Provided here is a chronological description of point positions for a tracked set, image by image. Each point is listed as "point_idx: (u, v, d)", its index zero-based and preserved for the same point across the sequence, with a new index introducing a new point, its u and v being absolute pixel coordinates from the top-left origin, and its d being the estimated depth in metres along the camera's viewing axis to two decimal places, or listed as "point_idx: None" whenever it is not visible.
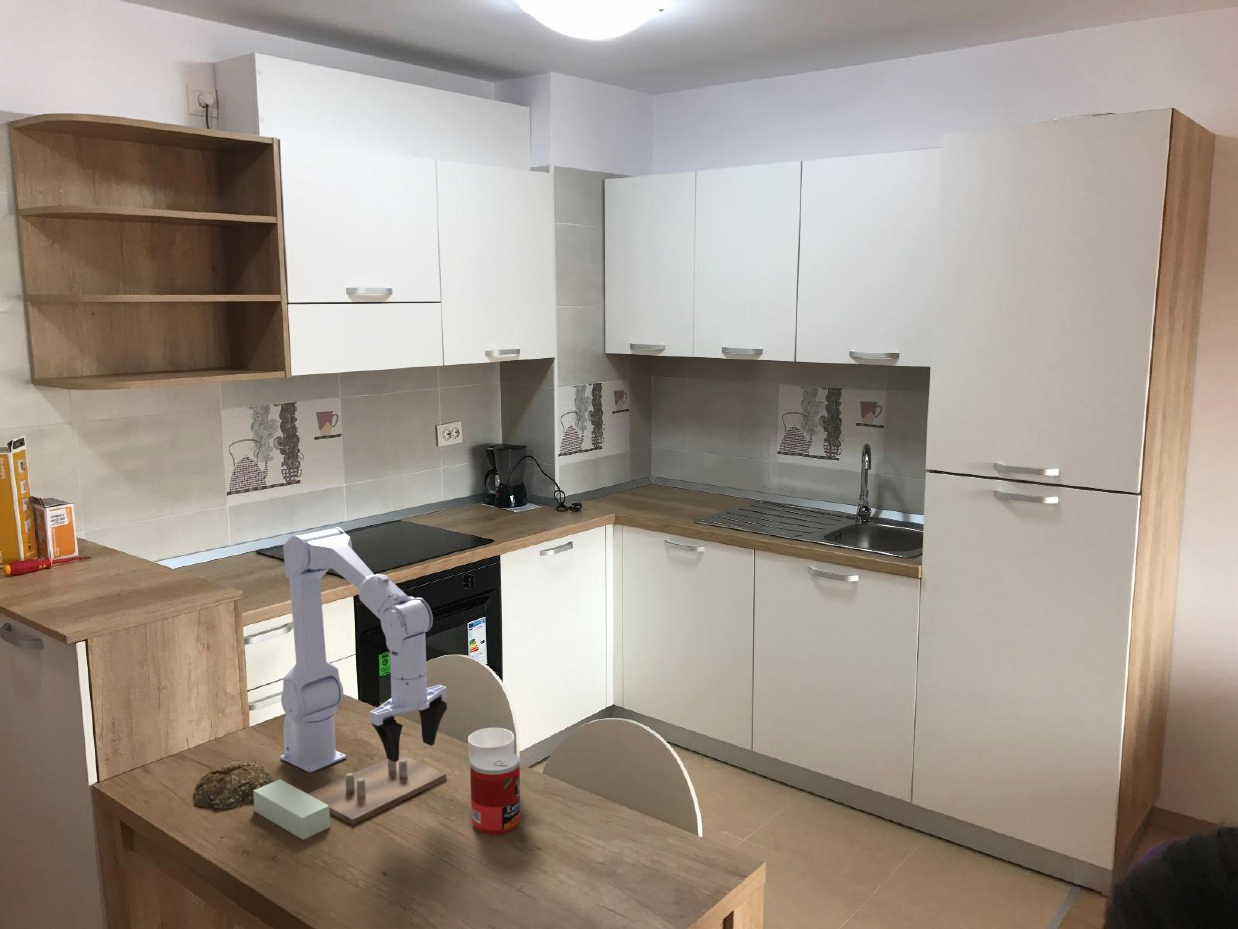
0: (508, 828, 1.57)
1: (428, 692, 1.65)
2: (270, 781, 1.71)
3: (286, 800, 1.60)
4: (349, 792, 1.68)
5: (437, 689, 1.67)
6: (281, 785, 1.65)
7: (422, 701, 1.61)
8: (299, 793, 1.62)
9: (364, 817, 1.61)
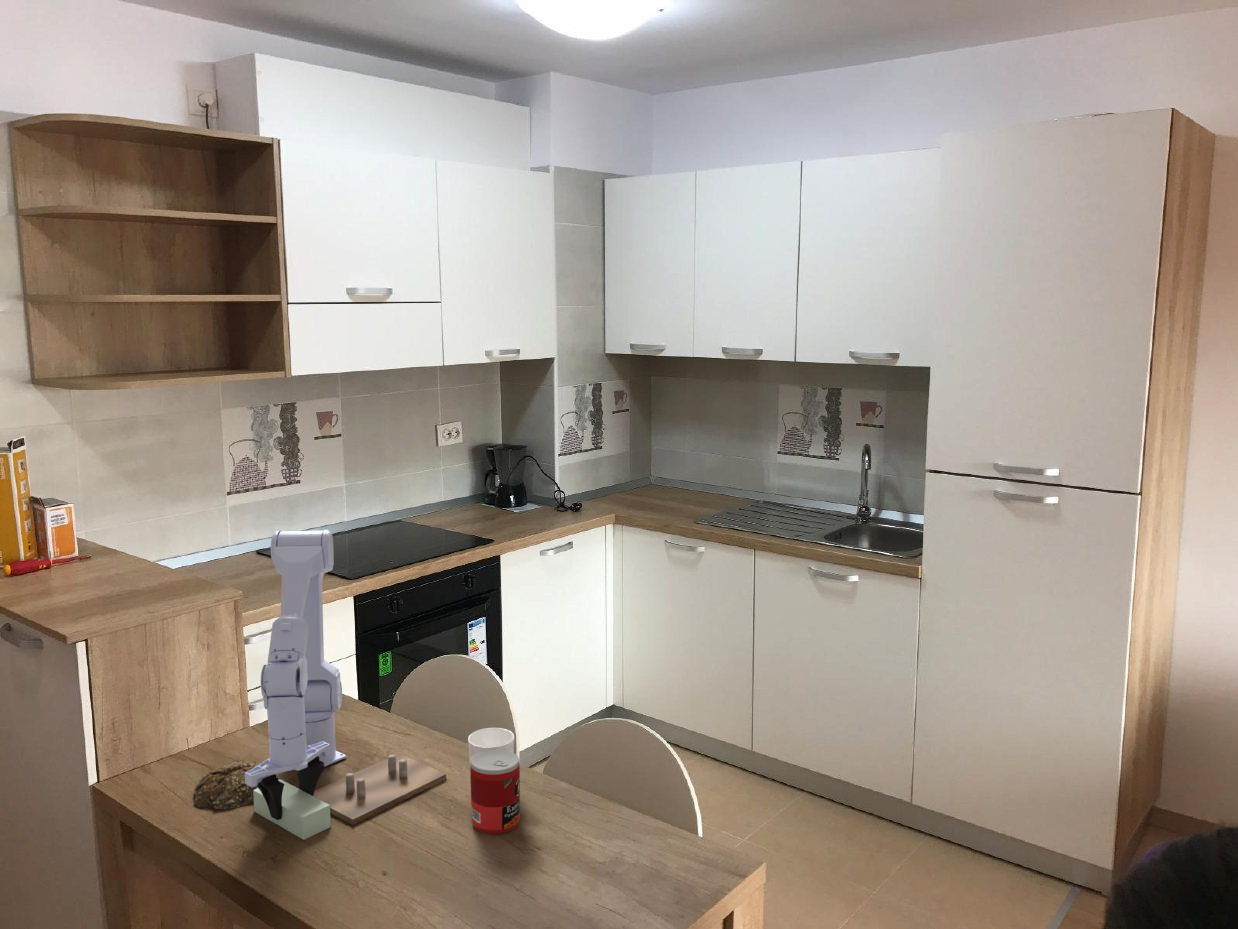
0: (508, 828, 1.57)
1: (310, 750, 1.63)
2: None
3: (286, 799, 1.60)
4: (349, 792, 1.68)
5: (320, 746, 1.64)
6: None
7: (300, 761, 1.58)
8: (299, 793, 1.62)
9: (364, 817, 1.61)
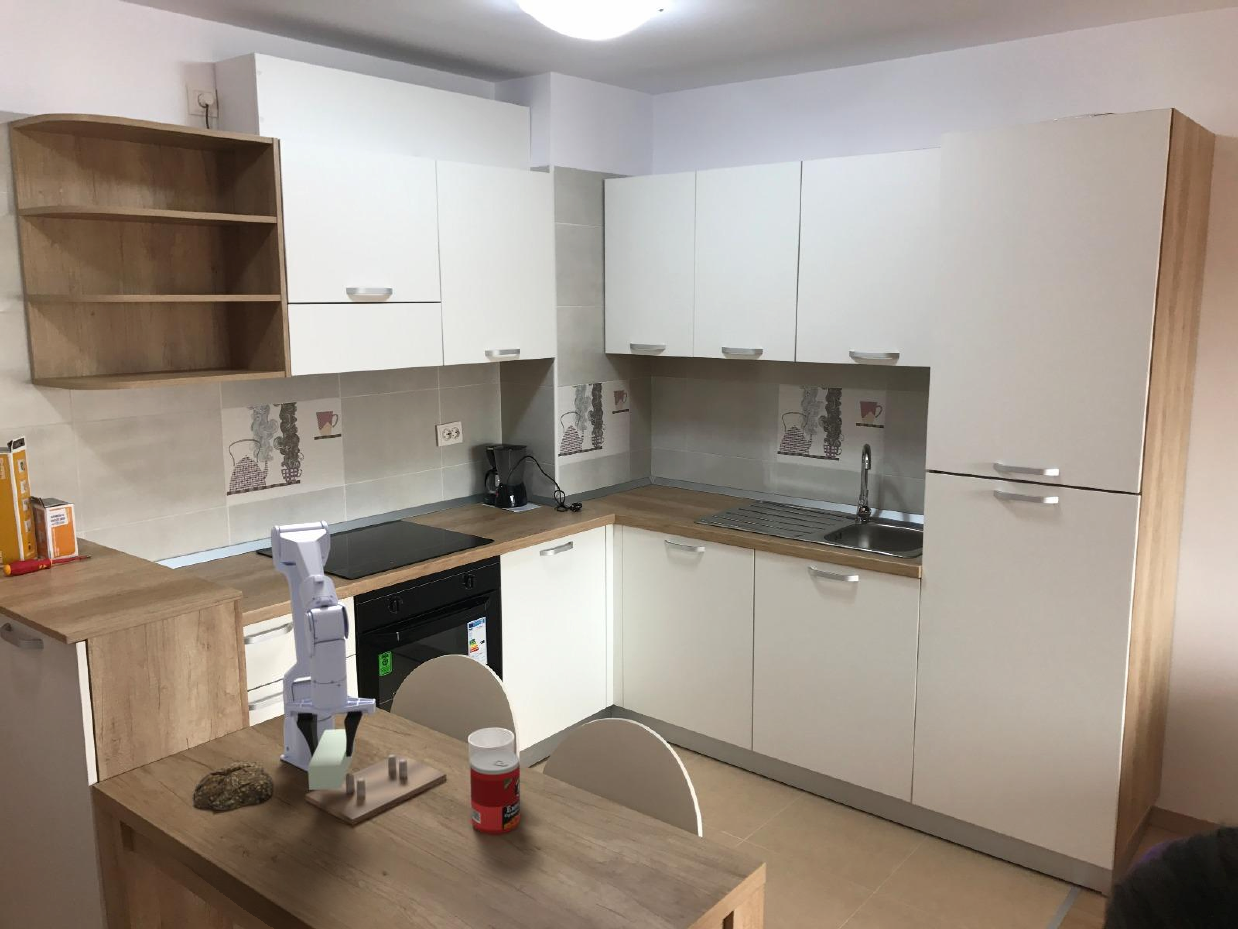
0: (508, 828, 1.57)
1: (354, 702, 1.64)
2: (270, 782, 1.70)
3: (327, 747, 1.65)
4: (349, 792, 1.68)
5: (366, 703, 1.64)
6: (345, 734, 1.70)
7: (328, 708, 1.61)
8: (343, 745, 1.65)
9: (364, 817, 1.61)
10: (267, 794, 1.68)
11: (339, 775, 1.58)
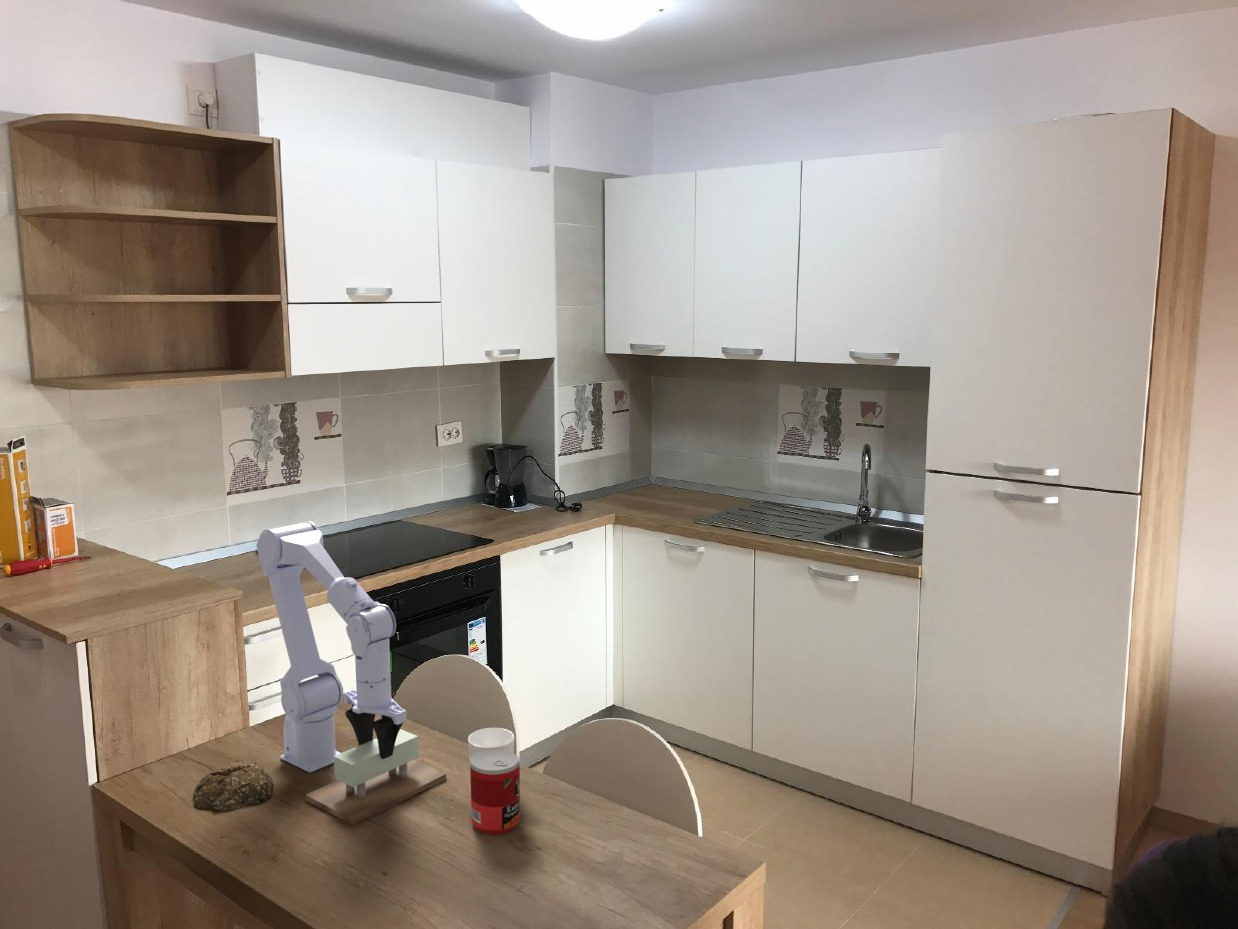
0: (508, 828, 1.57)
1: (388, 708, 1.66)
2: (270, 782, 1.70)
3: (373, 744, 1.71)
4: (349, 792, 1.68)
5: (395, 711, 1.65)
6: (404, 738, 1.73)
7: (361, 706, 1.66)
8: None
9: (364, 817, 1.61)
10: (267, 794, 1.68)
11: (351, 774, 1.64)
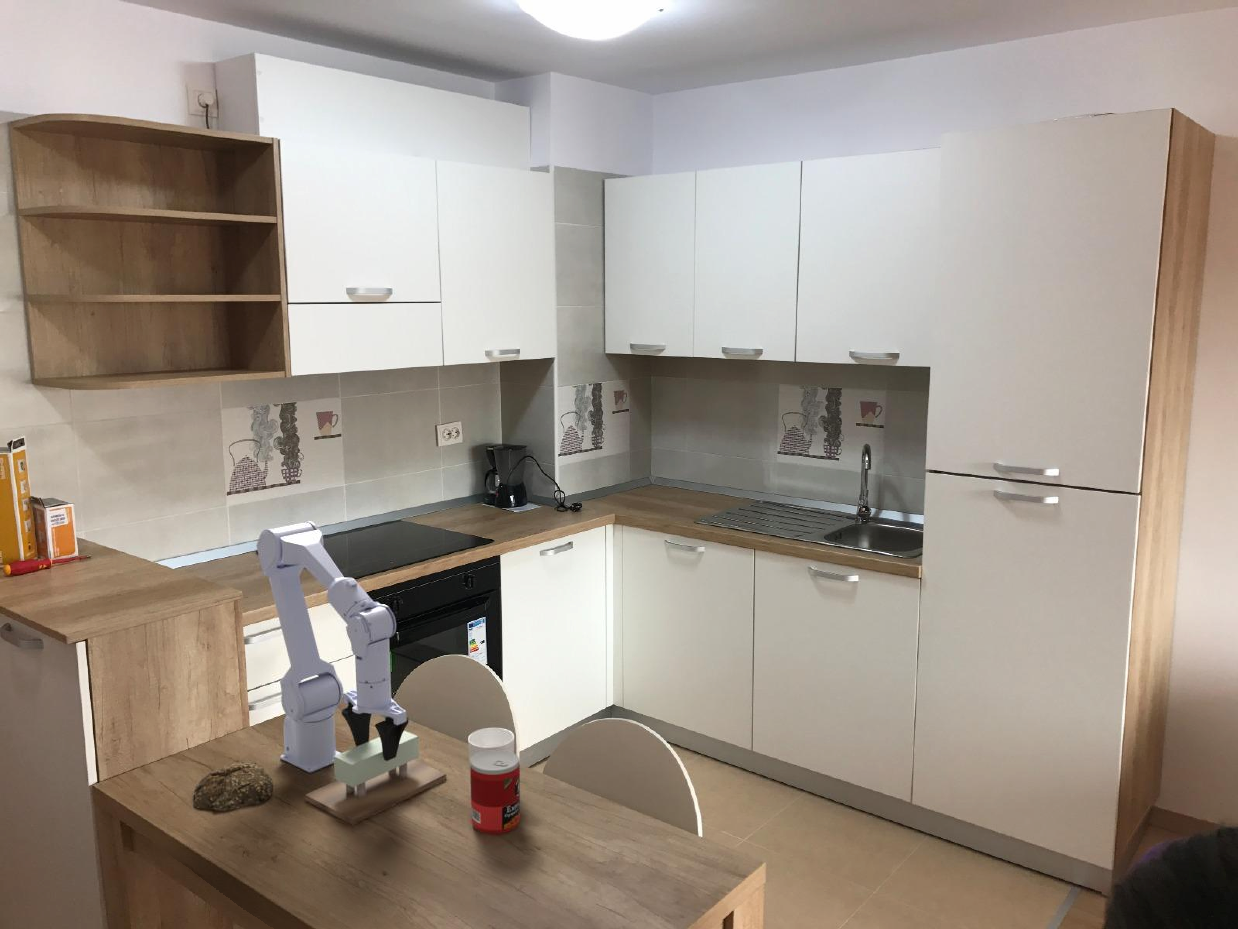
0: (508, 828, 1.57)
1: (388, 708, 1.66)
2: (270, 783, 1.70)
3: (373, 744, 1.71)
4: (349, 792, 1.68)
5: (395, 711, 1.65)
6: (404, 738, 1.73)
7: (361, 706, 1.66)
8: None
9: (364, 817, 1.61)
10: (267, 795, 1.68)
11: (351, 774, 1.64)
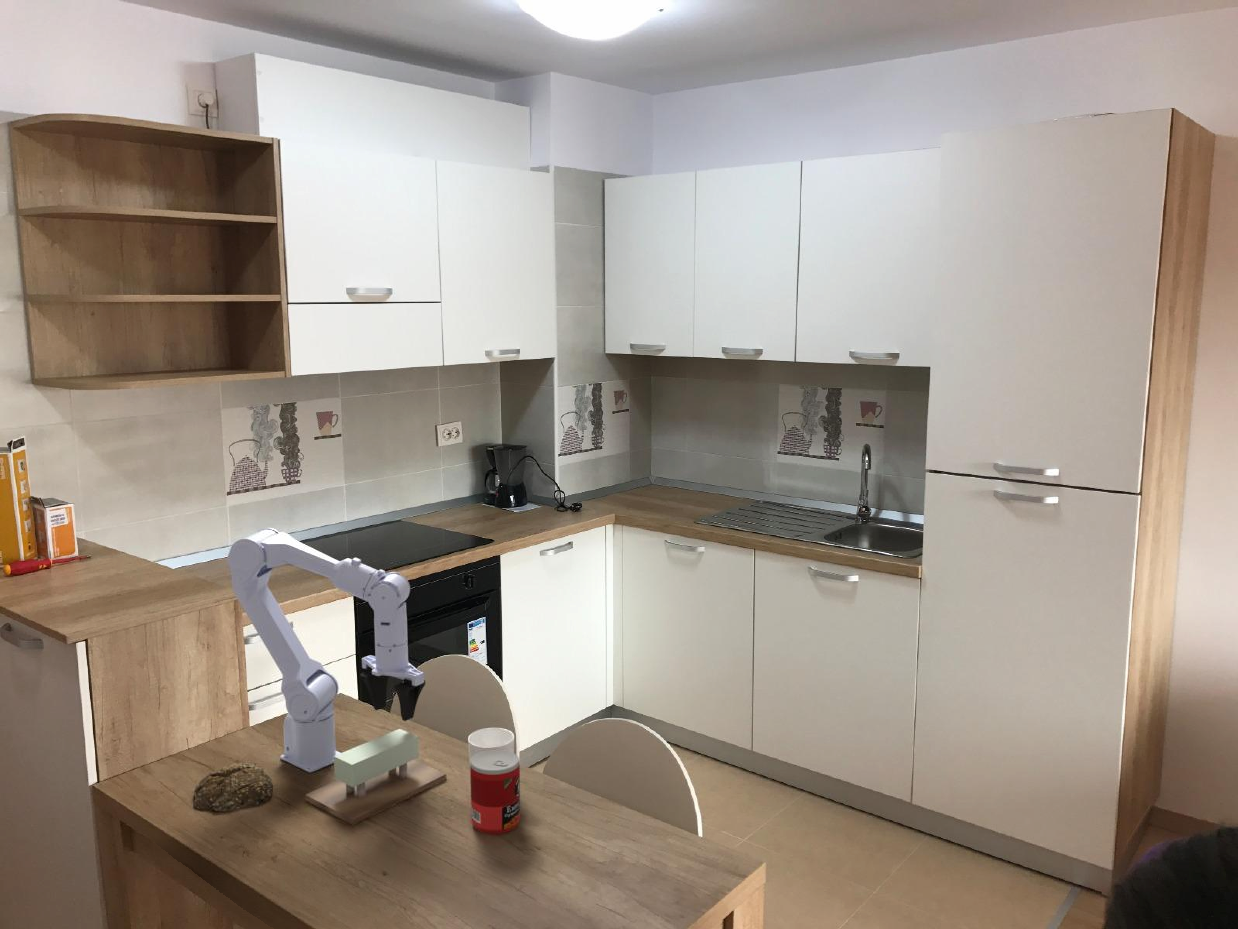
0: (508, 828, 1.57)
1: (406, 670, 1.75)
2: (270, 783, 1.70)
3: (373, 744, 1.71)
4: (349, 792, 1.68)
5: (413, 673, 1.74)
6: (404, 738, 1.73)
7: (380, 669, 1.75)
8: (384, 748, 1.69)
9: (364, 817, 1.61)
10: (267, 795, 1.67)
11: (351, 774, 1.64)
